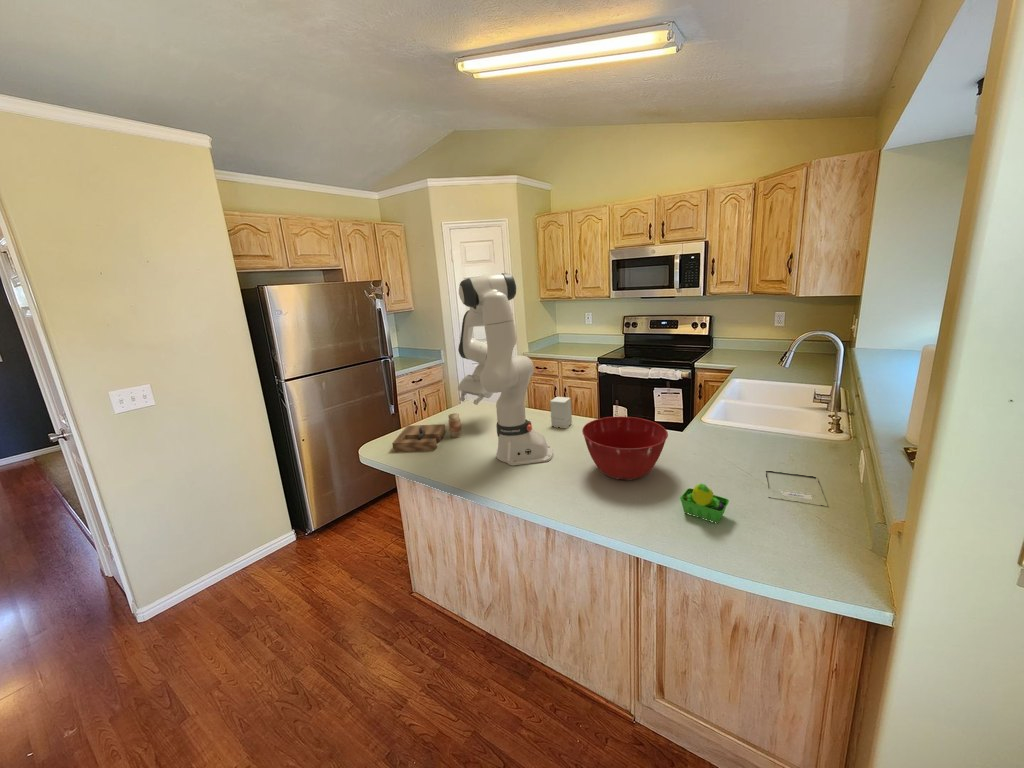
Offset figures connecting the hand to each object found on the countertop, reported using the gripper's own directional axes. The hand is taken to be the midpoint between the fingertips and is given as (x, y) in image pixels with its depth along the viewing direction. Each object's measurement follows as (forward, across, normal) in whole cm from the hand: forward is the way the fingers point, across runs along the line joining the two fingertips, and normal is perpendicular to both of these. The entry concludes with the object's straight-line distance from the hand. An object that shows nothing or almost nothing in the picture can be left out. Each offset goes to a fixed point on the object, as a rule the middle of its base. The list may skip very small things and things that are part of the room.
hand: (468, 402), depth 194 cm
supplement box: (-9, +33, +29) cm, 45 cm away
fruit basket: (+16, +108, +4) cm, 109 cm away
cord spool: (+16, 0, +3) cm, 16 cm away
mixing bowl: (+7, +77, +12) cm, 78 cm away
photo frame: (-6, +124, +26) cm, 127 cm away
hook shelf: (+25, -9, -6) cm, 27 cm away
